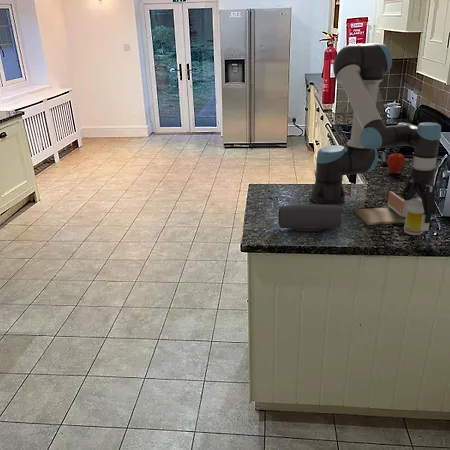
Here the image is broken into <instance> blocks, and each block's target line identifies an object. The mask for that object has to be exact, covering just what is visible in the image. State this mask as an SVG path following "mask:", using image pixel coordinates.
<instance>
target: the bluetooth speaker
mask: <svg viewBox="0 0 450 450" xmlns="http://www.w3.org/2000/svg"><path fill="white" fill-rule="evenodd" d="M277 219H278V226H279V229H293V230H294V231H296V232H319V231H320V232H321V231H323V229H335V228H340V227H341V225H342V208H341V206H340V205H337V204H289V205H288V204H287V205H280V206H278V215H277Z"/></svg>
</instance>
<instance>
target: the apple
mask: <svg viewBox="0 0 450 450" xmlns="http://www.w3.org/2000/svg"><path fill="white" fill-rule="evenodd" d="M389 155H390V156H389V157H388V160H387V165H388V166H387V167H388V169H389V171H390V173H391V174H398V173H399V172H400V171H401V169H403V167H404V165H405V162H404V161H405V160H404V159H405V157H404V155H403V154H402V153H398V152H397V153H391V154H389Z"/></svg>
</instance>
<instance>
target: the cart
mask: <svg viewBox="0 0 450 450" xmlns="http://www.w3.org/2000/svg"><path fill="white" fill-rule="evenodd" d="M410 200H411V199H410ZM404 201H405V200H404V198H402V197H401V196H399V195H398V194H396V193H395V192H394V191H392V190H391V191H388V198H387V206H388V207H390V208H392V209H393V210H394V211H395V212H397V213H398V214H399V215H400V216H402V215H403V208H404ZM402 217H403V216H402ZM403 218H404V219H405V218H406V217H403Z"/></svg>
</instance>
